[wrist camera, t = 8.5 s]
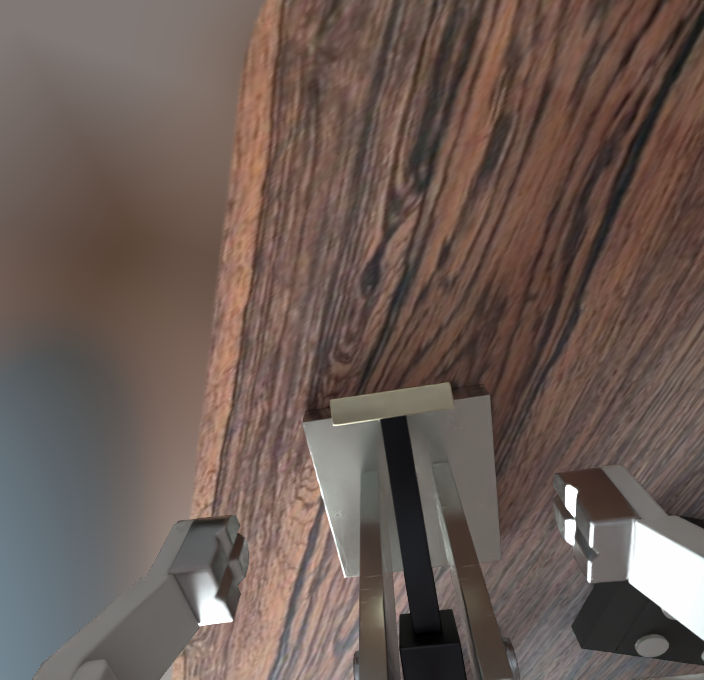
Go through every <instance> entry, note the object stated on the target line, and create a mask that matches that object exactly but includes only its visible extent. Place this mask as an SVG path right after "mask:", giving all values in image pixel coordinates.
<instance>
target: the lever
mask: <svg viewBox="0 0 704 680" xmlns="http://www.w3.org/2000/svg"><path fill="white" fill-rule="evenodd" d="M454 407H455V405H454V400H453V394H452V389H451V384H450V382H448V381H447V382H441V383H434V384H428V385H421V386H415V387H408V388H402V389H395V390H389V391H382V392H375V393H369V394H362V395H356V396H349V397H343V398H336V399H331V400H330V409H331V416H332V423H333V426H338V425H345V424H352V423H359V422H366V421H372V420H379V419H380V424H381V430H382V437H383V443H384V449H385V456H386V462H387V469H388V475H389V481H390V488H391V494H392V500H393V507H394V513H395V520H396V526H397V532H398V539H399V545H400V551H401V558H402V564H403V571H404V577H405V583H406V590H407V596H408V602H409V609H410V613H408V614H400V616H399V650H400V657H401V664H402V670H403V677H404V680H467V677H466V671H465V665H464V660H463V654H462V648H461V643H460V639H459V635H458V631H457V626H456V622H455V618H454V614H453V611H452V609H448V610H439V606H438V600H437V594H436V588H435V582H434V576H433V570H432V564H431V558H430V552H429V546H428V540H427V534H426V528H425V522H424V516H423V510H422V504H421V498H420V492H419V486H418V481H417V475H416V469H415V463H414V457H413V451H412V445H411V439H410V433H409V427H408V421H407V415H413V414H420V413H427V412H434V411H441V410H447V409H453V408H454Z"/></svg>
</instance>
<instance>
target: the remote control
mask: <svg viewBox="0 0 704 680" xmlns="http://www.w3.org/2000/svg"><path fill="white" fill-rule="evenodd" d="M667 515H668V516H673V515H669V514H667ZM678 517H680V518H682V519H685V520H687V521H689V522H691V523H693V524H695V525H697V526H699V527H701V528H703V529H704V520H701V519H694V518H688V517H681V516H678ZM571 627H572V629H573V631H574V633H575V635H576V638H577V640H578V642H579V644H580V646H581V648H582V649H589V650H596V651H603V652H611V653H618V654H625V655H632V656H639V657H646V658H653V659H660V660H668V661H675V662H682V663H689V664H696V665H703V666H704V640H702V639H701V638H700V637H698V636H697V635H696V634H695V633H693V632H692V631H691V630H689V629H688V628H687V627H686V626H684V625H683V624H682V623H680V622H679V621H678V620H677V619H675V618H674V617H673V616H671V615H670V614H669V613H667V612H666V611H665V610H664V609H662V608H661V607H660V606H658V605H657V604H656V603H655V602H653V601H652V600H651V599H649V598H648V597H647V596H646V595H644V594H643V593H642V592H640V591H639V590H638V589H637V588H635V587H634V586H633V585H631V584H630V583H629V580H626V581H613V582H600V583H596V585H595V587H594V588H593V590H592V592H591V593H590V595H589V597H588V599H587V600H586V602H585V604H584V605H583V607H582V609H581V611H580V612H579V614H578V616H577V618H576V619H575V621H574V623H573V624H572V626H571Z"/></svg>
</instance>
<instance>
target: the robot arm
mask: <svg viewBox="0 0 704 680" xmlns="http://www.w3.org/2000/svg"><path fill="white" fill-rule="evenodd" d="M553 486H554V488H555V490H556V491H557V493H558V494H557V495H556V497H555V498H554V499H553V512H554V516H555V520H556V523H557V526H558V528H559V531H560V533H561V535H562V537H563V538H564V540H565V541H566V542H568V543H569V544H571V545H572V546H574V558H575V560H576V562H577V564H578V566H579V567H580V569H581V571H582V573H583V574H584V576H585V578H586V580H587V582H588V583H600V582H613V581H626V580H629V583H630V584H631V585H633V586H634V587H635V588H637V589H638V590H639V591H640V592H642V593H643V594H644V595H646V596H647V597H648V598H649V599H651V600H652V601H653V602H655V603H656V604H657V605H658V606H660V607H661V608H662V609H664V610H665V611H666V612H667V613H669V614H670V615H671V616H673V617H674V618H675V619H677V620H678V621H679V622H680V623H682V624H683V625H684V626H686V627H687V628H688V629H689V630H691V631H692V632H693V633H695V634H696V635H697V636H698V637H700V638H701V639H702V640H704V529H703V528H701V527H699V526H697V525H695V524H693V523H691V522H689V521H687V520H685V519H682V518H680V517H678V516H676V515H673V516H668V515H667V513H666V512H665V511H664V510H663V509H662V508H661V507H660V506H659V505H658V503H657V502H656V501H655V500H654V499H653V498H652V497H651V496H650V495H649V493H648V492H647V491H646V490H645V489H644V488H643V487H642V486H641V485H640V484H639V482H638V481H637V480H636V479H635V478H634V477H633V476H632V475H631V474H630V472H629V471H628V470H627V469H626V468H625V467H624V466H622V465H620V464H616V465H609V466H602V467H597V468H588V469H581V470H574V471H566V472H559V473H555V474H554V477H553ZM239 527H240V524H239V522H238V519H237V517H236V516H234V515H226V516H216V517H207V518H197V519H191V520H181V521H178V522H177V523H176V524H174V526H173V527H172V530H171V531H170V533H169V535H168V537H167V539H166V541H165V543H164V545H163V547H162V548H161V550H160V552H159V554H158V556H157V558H156V560H155V562H154V564H153V565H152V567H151V569H150V571H149V573H148V575H147V577H144V578H140V579H139V580H138V581H137V582H135V583H134V584H133V585H132V586H131V587H130V588H129V589H128V590H126V591H125V592H124V593H123V594H122V595H120V596H119V597H118V598H117V599H116V600H115V601H114V602H112V603H111V604H110V605H109V606H108V607H107V608H106V609H104V610H103V611H102V612H101V613H100V614H99V615H98V616H96V617H95V618H94V619H93V620H92V621H91V622H90V623H88V624H87V625H86V626H85V627H84V628H83V629H81V630H80V631H79V632H78V633H77V634H76V635H74V636H73V637H72V638H71V639H70V640H69V641H67V642H66V643H65V644H64V645H63V646H62V647H61V648H59V649H58V650H57V651H56V652H55V653H54V654H53V655H51V656H50V657H49V658H48V659H47V660H46V661H44V662H43V663H42V665H41V666H40V668H39V669H38V671H37V673H36V674H35V675H34V677H33V679H32V680H160V679H161V677H162V676H163V675H164V673H165V672H166V671H167V669H168V668H169V667H170V666H171V664H172V663H173V662H174V660H175V659H176V658H177V657H178V655H179V654H180V653H181V651H182V650H183V649H184V647H185V646H186V645H187V644H188V642H189V641H190V640H191V638H192V637H193V636H194V634H195V633H196V632H197V631H198V629H199V628H200V626H199V625H206V624H213V623H220V622H227V621H233V620H234V616H235V613H236V609H237V605H238V602H239V598H240V595H241V593H240V591H239V588H238V585H239V584H240V582H241V581H242V580H243V579H244V578H245V577H246V573H247V569H248V563H249V550H248V544H247V542H246V539H245V537H243V536H242V535H240V534H239V533H238V530H239ZM633 680H704V674H692V675H680V676H669V677H657V678H645V679H633Z"/></svg>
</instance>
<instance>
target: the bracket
mask: <svg viewBox="0 0 704 680" xmlns="http://www.w3.org/2000/svg"><path fill="white" fill-rule="evenodd" d="M452 394H453V400H454V405H455V407H454V408H453V409H447V410H441V411H434V412H427V413H420V414H413V415H407V421H408V427H409V433H410V439H411V445H412V451H413V457H414V463H415V469H416V475H417V481H418V486H419V492H420V498H421V504H422V510H423V516H424V522H425V528H426V534H427V540H428V546H429V552H430V558H431V564H432V568H435V567H444V566H449V568H450V573H451V577H452V582H453V586H454V591H455V595H456V600H457V604H458V609H459V613H460V618H461V623H462V627H463V632H464V636H465V641H466V645H467V650H468V654H469V659H470V663H471V668H472V673H473V677H474V680H520V673H519V668H518V663H517V659H516V656H515V652H514V649H513V646H512V643H511V641H510V639H509V637H501V634H500V630H499V627H498V624H497V620H496V617H495V614H494V610H493V607H492V604H491V600H490V597H489V594H488V590H487V587H486V584H485V580H484V577H483V574H482V570H481V567H480V564H479V563H480V562H489V561H498V560H502V556H501V542H500V528H499V514H498V500H497V486H496V472H495V458H494V443H493V429H492V415H491V401H490V394H489V392H488V391H487V389H486V387H485V385H484V384H481V385H474V386H468V387H461V388H455V389H452ZM302 424H303V428H304V431H305V435H306V438H307V442H308V446H309V449H310V453H311V457H312V460H313V464H314V467H315V471H316V475H317V478H318V482H319V485H320V489H321V493H322V496H323V500H324V504H325V507H326V511H327V514H328V518H329V522H330V525H331V529H332V533H333V536H334V540H335V543H336V547H337V551H338V554H339V558H340V561H341V565H342V569H343V572H344V576H345V577H354V576H360V590H359V651H356V652H355V653H354V659H353V673H354V680H401V675H400V662H399V649H398V635H397V622H396V609H395V595H394V582H393V572H399V571H403V564H402V558H401V551H400V545H399V539H398V532H397V526H396V520H395V513H394V507H393V500H392V494H391V488H390V481H389V475H388V469H387V462H386V456H385V449H384V443H383V437H382V430H381V424H380V419H379V420H372V421H366V422H359V423H352V424H345V425H338V426H333V423H332V416H331V409H330V407H329V408H322V409H316V410H309V411H305V414H304V418H303V422H302Z"/></svg>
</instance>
